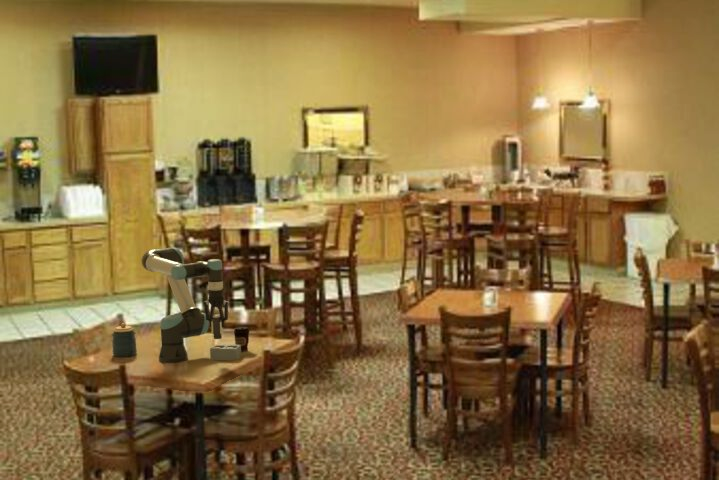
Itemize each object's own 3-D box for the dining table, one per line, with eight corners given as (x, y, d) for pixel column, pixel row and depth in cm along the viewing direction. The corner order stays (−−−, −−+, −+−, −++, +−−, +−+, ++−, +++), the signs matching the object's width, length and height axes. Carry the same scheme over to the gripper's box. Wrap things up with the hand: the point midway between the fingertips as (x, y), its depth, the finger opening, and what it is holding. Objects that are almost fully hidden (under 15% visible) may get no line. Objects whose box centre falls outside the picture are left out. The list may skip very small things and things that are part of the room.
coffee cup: (247, 353, 547) (246, 329, 546) (232, 352, 549) (231, 329, 547) (251, 349, 556) (251, 326, 554) (237, 349, 557) (236, 326, 556)
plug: (212, 339, 524) (211, 316, 523) (215, 337, 528) (214, 314, 527) (220, 339, 523) (219, 316, 522) (222, 337, 527) (221, 314, 526)
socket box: (210, 359, 533) (209, 348, 533) (216, 355, 543) (215, 343, 542) (236, 360, 531) (235, 348, 530) (241, 355, 541) (240, 344, 540)
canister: (107, 355, 550) (106, 323, 548) (128, 351, 560) (126, 319, 558) (121, 358, 541) (119, 326, 539) (141, 354, 551) (140, 322, 549)
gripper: (197, 290, 520) (199, 334, 523) (229, 290, 517) (231, 335, 520) (202, 287, 528) (204, 331, 531) (233, 288, 525) (235, 332, 528)
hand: (217, 333), depth 525 cm, fingers closed on plug, 4 cm apart
